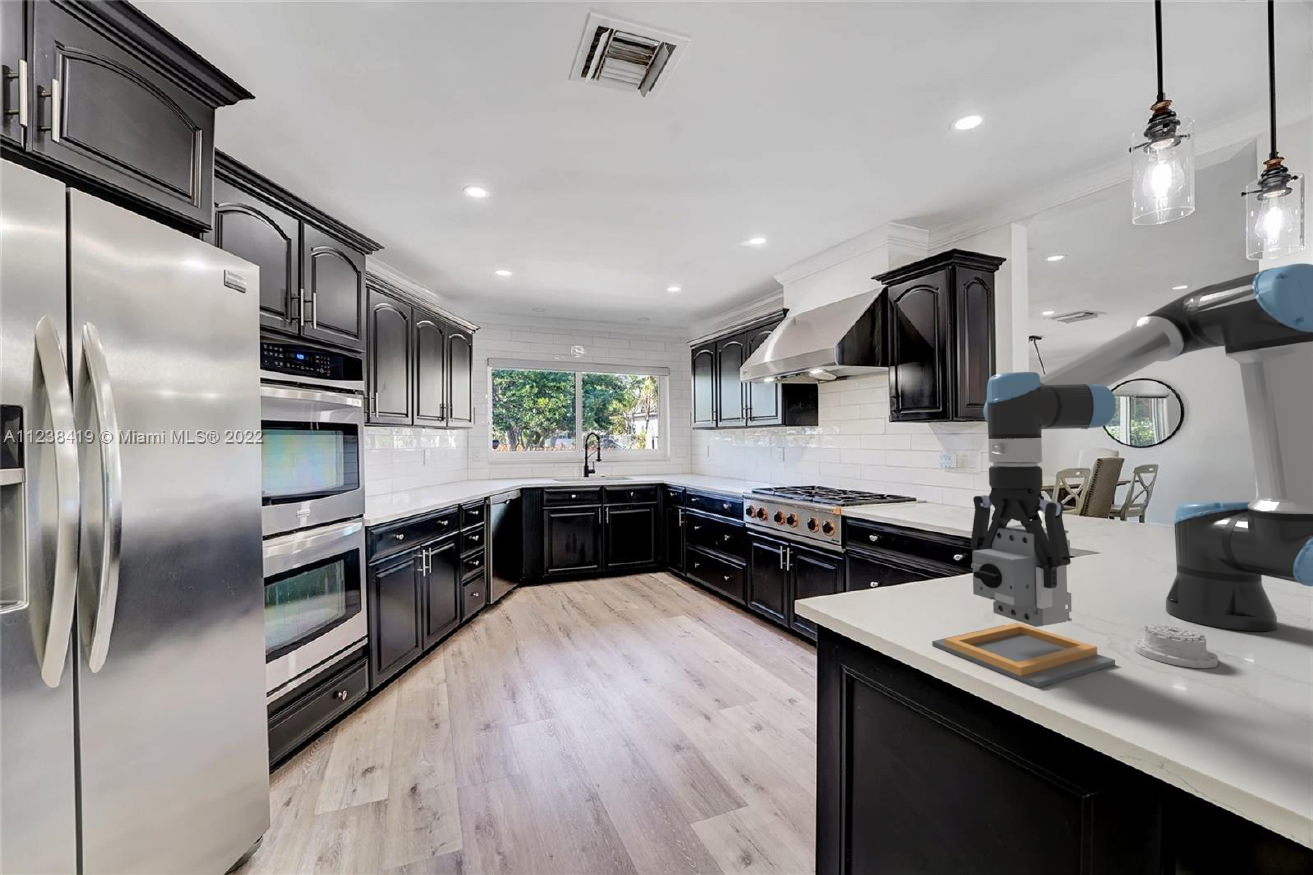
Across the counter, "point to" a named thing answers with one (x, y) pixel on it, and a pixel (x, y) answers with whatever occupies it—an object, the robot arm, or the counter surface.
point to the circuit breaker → (1018, 579)
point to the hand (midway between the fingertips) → (1017, 599)
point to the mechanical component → (1175, 646)
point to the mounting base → (1026, 653)
